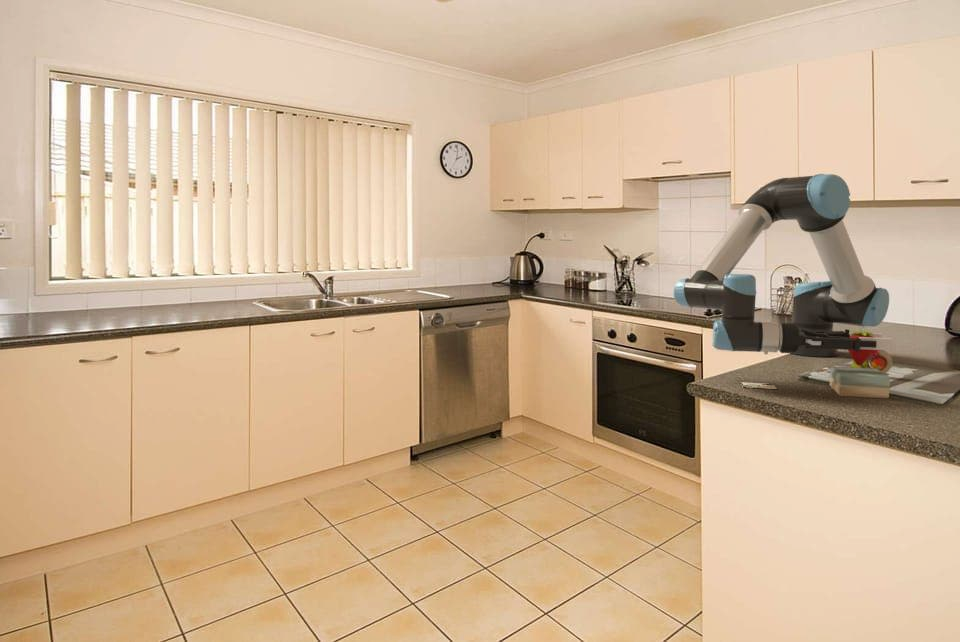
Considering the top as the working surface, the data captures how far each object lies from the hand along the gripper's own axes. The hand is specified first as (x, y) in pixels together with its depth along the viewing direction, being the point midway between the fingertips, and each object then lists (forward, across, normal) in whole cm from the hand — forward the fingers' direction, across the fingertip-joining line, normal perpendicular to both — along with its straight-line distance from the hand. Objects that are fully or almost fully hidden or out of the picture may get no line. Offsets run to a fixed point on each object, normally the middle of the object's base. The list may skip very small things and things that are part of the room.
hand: (885, 341), depth 145 cm
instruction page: (-27, 0, -13) cm, 30 cm away
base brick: (-5, 0, -13) cm, 14 cm away
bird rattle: (+3, -20, -13) cm, 24 cm away
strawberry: (-5, 0, -6) cm, 8 cm away
